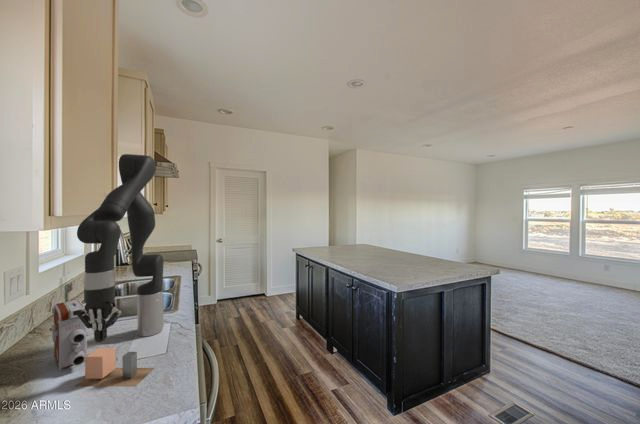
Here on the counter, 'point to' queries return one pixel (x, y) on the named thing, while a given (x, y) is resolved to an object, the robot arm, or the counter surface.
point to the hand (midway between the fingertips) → (100, 341)
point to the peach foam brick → (100, 363)
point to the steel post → (129, 365)
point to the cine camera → (69, 334)
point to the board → (117, 378)
